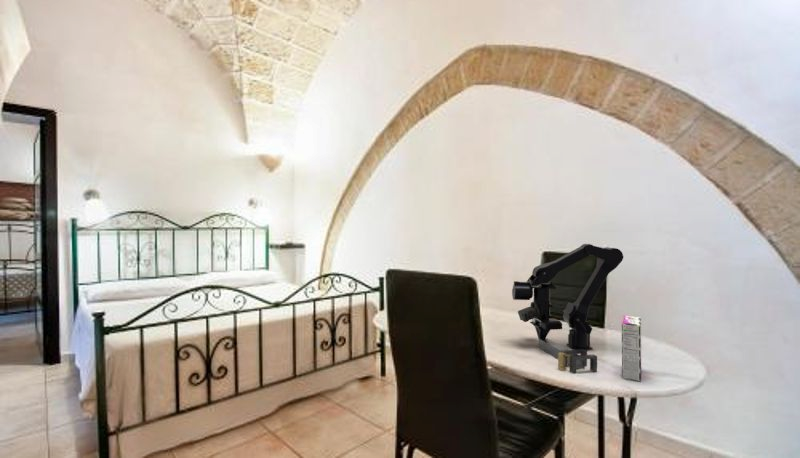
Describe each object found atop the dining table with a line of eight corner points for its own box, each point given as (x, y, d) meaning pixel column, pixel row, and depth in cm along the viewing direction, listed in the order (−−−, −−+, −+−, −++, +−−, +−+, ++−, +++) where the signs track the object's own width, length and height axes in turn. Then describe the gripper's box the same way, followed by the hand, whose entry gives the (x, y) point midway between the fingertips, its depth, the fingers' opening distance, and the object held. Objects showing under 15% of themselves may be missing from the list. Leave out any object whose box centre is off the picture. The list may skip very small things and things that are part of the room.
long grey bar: (538, 347, 143) (538, 338, 143) (546, 347, 143) (546, 338, 143) (575, 369, 121) (575, 358, 121) (584, 368, 122) (584, 358, 122)
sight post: (568, 368, 122) (568, 352, 122) (571, 369, 121) (571, 353, 121) (558, 368, 122) (558, 352, 122) (560, 370, 120) (561, 354, 120)
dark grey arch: (593, 369, 121) (593, 354, 121) (597, 371, 119) (597, 356, 119) (569, 371, 120) (569, 355, 119) (572, 373, 118) (572, 357, 118)
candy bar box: (622, 366, 123) (622, 314, 123) (641, 370, 121) (641, 316, 120) (620, 378, 114) (621, 322, 114) (641, 382, 111) (641, 324, 111)
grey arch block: (583, 364, 126) (583, 349, 126) (586, 365, 124) (586, 350, 124) (560, 365, 124) (560, 350, 124) (563, 367, 123) (563, 352, 123)
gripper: (510, 296, 152) (510, 336, 153) (532, 306, 134) (532, 351, 134) (537, 295, 154) (537, 335, 154) (563, 305, 135) (562, 350, 136)
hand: (541, 342), depth 144 cm, fingers closed
